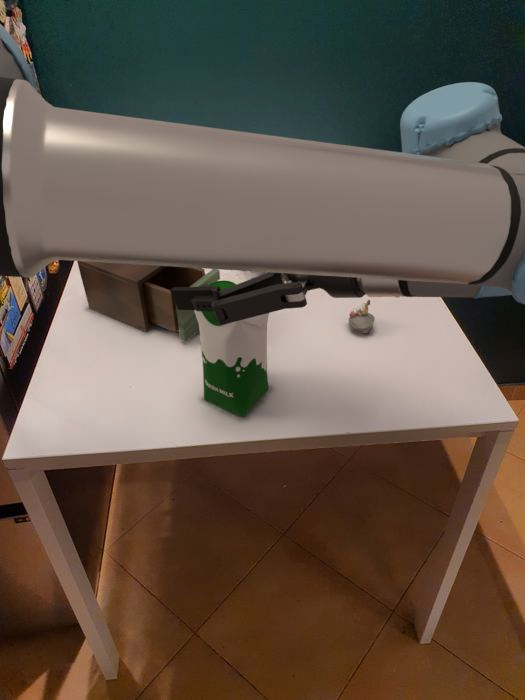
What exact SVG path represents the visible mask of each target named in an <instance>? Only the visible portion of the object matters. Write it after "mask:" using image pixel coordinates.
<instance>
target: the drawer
mask: <svg viewBox="0 0 525 700" xmlns="http://www.w3.org/2000/svg"><path fill="white" fill-rule="evenodd" d="M219 279H221V269H210V271H209V272H207V273H206V270H205V268H189V267H172V266H167V267H166V268H164V269H163V270H161V271H160V272H158V273H157V274H155V275H154V276H152V277H151V278H150V279H148V280H147V281H145V282H144V283H142V288H143V294H144V300H145V305H146V311H147V317H148V321H149V322H152V323H154V324H156V326H160V327H162V328H164V329H166V330H169V331H170V332H173V333H177V332H179V340H180V341H183V342H187V341H188V340H190V339H191V338H192V337H193V336H194V335H195V334H196V333H198V332H200V331H199V323H198V320H197V318H196V315H195V312H194V310H178V308H177V306H176V303H175V301H174V299H173V297H172V294H171V292H170V290H171V289H172V288H173V287H208V286H209V285H210V284H211V283H213V282H216V281H218V280H219Z"/></svg>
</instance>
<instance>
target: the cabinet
mask: <svg viewBox="0 0 525 700" xmlns="http://www.w3.org/2000/svg"><path fill="white" fill-rule="evenodd" d="M76 262H77V266H78V270H79V275H80V277H81V281H82V286H83V289H84V294H85V298H86V301H87V305H88V309H90V310H92V311H95V312H97V313H99V314H102V315H104V316H106V317H108V318H111V319H113V320H116V321H119V322H121V323H123V324H125V325H127V326H131V327H133V328H135V329H138V330H140V331H142V332H144V333H148V332H150V330H152V329H153V328H154V327H155V326H157V324H154V323H152V322H149V321H148V317H147V311H146V305H145V300H144V294H143V288H142V283H144V282H145V281H147V280H148V279H150V278H151V277H152V276H154V275H155V274H157V273H158V272H160V271H161V270H163V269H164V268H166V267H167V266H155V265H138V264H122V263H105V262H88V261H76Z"/></svg>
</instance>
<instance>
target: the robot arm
mask: <svg viewBox="0 0 525 700" xmlns="http://www.w3.org/2000/svg"><path fill="white" fill-rule="evenodd" d="M502 121H503V115H502V113H500V105H499V97H498V95H497V92H496V91H495V89H494V88H493V87H491V86H490V85H488V84H485V83H482V82H477V81H476V82H475V81H465V82H456V83H453V84H448V85H447V84H446V85H444V86H440V87H438V88H435V89H433V90H430V91H428V92H426V93H424V94H422V95H420V96H419V97H416V99H414V100H412V102H410V103H409V105H407V106H406V108H405V109H404V110H403V112H402V114H401V117H400V120H399V129H400V140H401V152H400V151H392V150H385V149H378V148H369V147H364V146H363V147H362V146H354V145H346V144H338V143H333V142H332V143H331V142H324V141H315V140H309V139H301V138H294V137H293V138H292V137H286V136H279V135H270V134H263V133H255V132H248V131H239V130H233V129H225V128H217V127H210V126H209V127H208V126H202V125H195V124H186V123H178V122H172V121H171V122H170V121H163V120H157V119H150V118H149V119H148V118H140V117H133V116H124V115H118V114H110V113H103V112H94V111H89V110H88V111H87V110H81V109H73V108H72V109H71V108H64V107H57V106H53V104H50V103H49V102H48V101H46V100H45V98H44V97H43V96H42V95H41V94H40V93H39V92H38V91H37V88H36V83H35V78H34V76H33V72H32V70H31V66H30V64H29V62H28V61H27V58H26V56H25V55H24V53H23V51H22V49H21V48H20V46H19V44H18V43H17V42H16V41H15V39H14V38H13V36H12V35H11V34H10V33H9V31H8V30H7V29H6V28H5V27H4V26H3V25H2V24H1V23H0V277H10V278H11V277H14V278H34V277H36V275H38V274H39V273H40V272H41V271H43V270H44V269H45V268H46V267H47V266H48V265H50V264H51V263H52V262H55V261H71V262H72V261H74V262H77V261H88V262H105V263H122V264H138V265H155V266H172V267H189V268H202V269H208V270H212V269H218V270H222V271H223V270H224V271H238V272H239V271H242V272H257V273H260V272H261V273H263V274H261V275H258V276H255V277H253V278H250V279H248V280H245V282H242V283H239V284H237V285H234V286H232V287H229V288H227V289H224V290H221V289H220V287H219V286H213V287H173V288H172V289H171V290H170V292H171V294H172V297H173V299H174V301H175V303H176V306H177V308H178V310H196V311H212V312H214V313H215V316H216V318H217V321H218V323H219V324H220V325H224V324H228V323H232V322H236V321H240V320H243V319H247V318H251V317H255V316H259V315H263V314H267V313H269V314H271V313H274V312H278V311H282V310H287V309H300V308H304V307H306V306H307V305H308V301H307V298H306V295H307V293H308V292H309V291H312V290H318V289H322V290H323V291H324V292H326V293H327V295H328V296H330V297H332V298H334V299H356V298H358V299H360V298H363V297H364V296H368V298H404V297H406V298H471V299H479V298H492V297H505V296H512V297H513V299H514V301H516V302H517V303H518V304H521V305H525V146H523V145H521V144H520V143H518V142H517V141H514V140H513V139H512V138H509V137H508V136H506V135H504V134H503V133H502V131H501V122H502ZM266 272H268V273H266ZM281 273H283V275H281ZM282 276H283V277H282ZM284 281H285V282H284Z"/></svg>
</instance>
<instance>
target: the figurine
mask: <svg viewBox="0 0 525 700" xmlns="http://www.w3.org/2000/svg"><path fill="white" fill-rule="evenodd" d="M369 306H371V300H370V299H368V300H366V302H363V303H362V304H361V307H359V306H357V307H356V308H354V309H352V310H351V311H350V312H349V315H348V316H349V317H348V324H349V326H350V327H351V328H352V329H354V331H356V332H358V333H361V334H368V333H369V332H370V330H371V329H372V327H373V326H374V323H375V321H376V318H375V316H374V314H372V313H370V312H369Z"/></svg>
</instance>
